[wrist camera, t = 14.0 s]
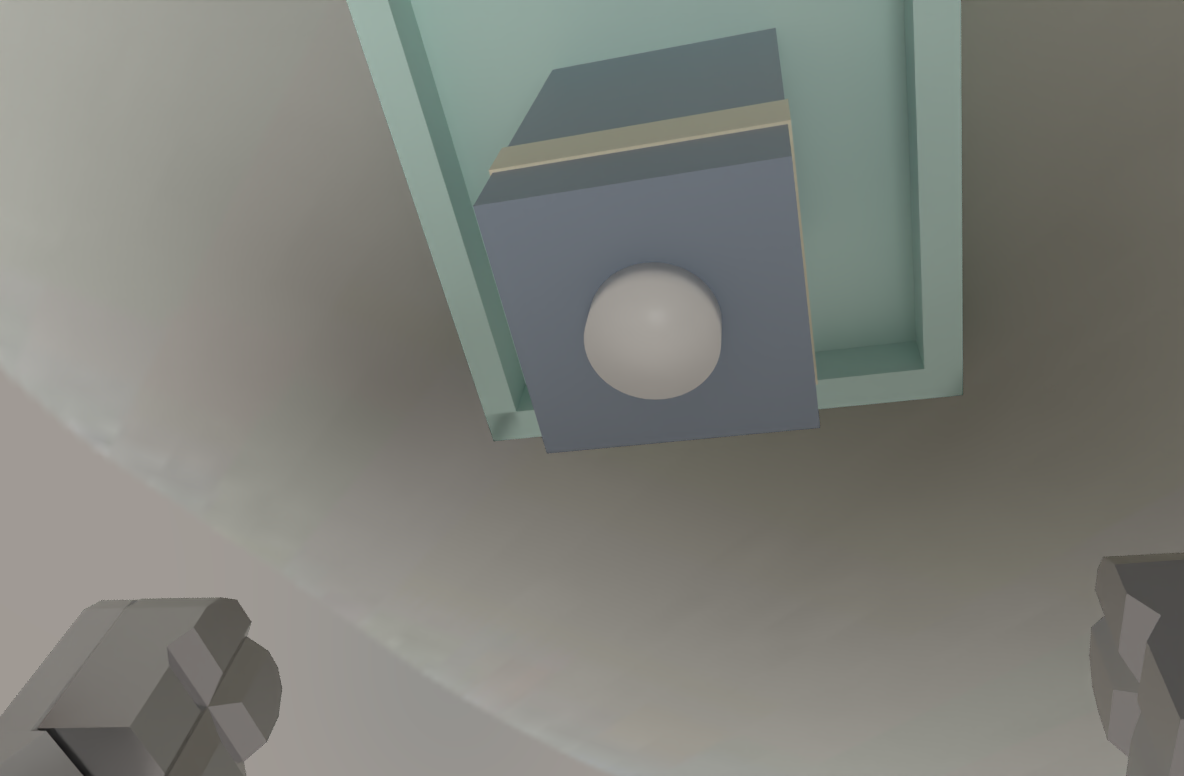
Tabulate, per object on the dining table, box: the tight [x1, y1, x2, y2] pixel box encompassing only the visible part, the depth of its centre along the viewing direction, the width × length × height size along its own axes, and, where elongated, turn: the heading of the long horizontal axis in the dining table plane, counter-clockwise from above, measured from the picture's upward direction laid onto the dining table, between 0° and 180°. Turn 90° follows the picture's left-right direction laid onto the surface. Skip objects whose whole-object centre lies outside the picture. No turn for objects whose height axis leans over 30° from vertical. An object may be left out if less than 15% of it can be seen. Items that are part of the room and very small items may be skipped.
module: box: [473, 28, 820, 453], centre depth 17 cm, size 5×5×8 cm
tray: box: [346, 0, 963, 441], centre depth 20 cm, size 11×12×2 cm
